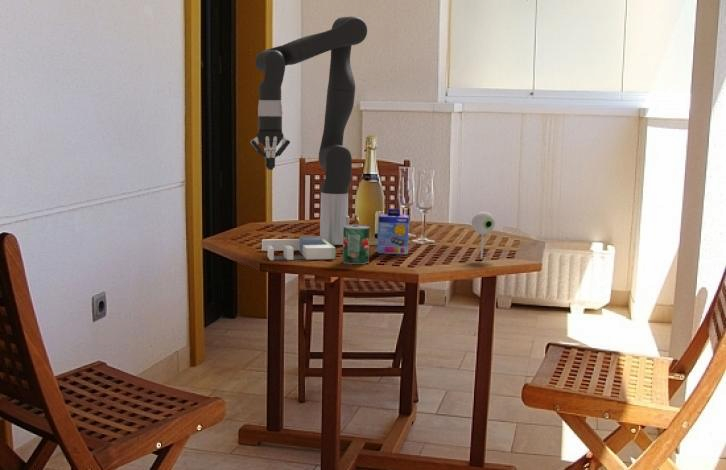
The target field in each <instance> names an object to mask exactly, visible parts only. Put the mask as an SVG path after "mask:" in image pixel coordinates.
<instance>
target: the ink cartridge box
mask: <svg viewBox="0 0 726 470" xmlns="http://www.w3.org/2000/svg"><path fill="white" fill-rule="evenodd" d="M400 210H401V209H400V208H388V211H387V212H388V213H379V214H378V221H377V254H383V253H384V254H385V255H386V254H387V255H388V254H389V255H390V254H391V255H405V256H406V255H408V253H409V231H410V215H409V214H408V215H407V214H401V212H400ZM392 211H393V212H392Z"/></svg>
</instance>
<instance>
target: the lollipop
mask: <svg viewBox="0 0 726 470" xmlns="http://www.w3.org/2000/svg"><path fill="white" fill-rule="evenodd" d="M495 224H496V222H495V217H494V216H493V215H492V214H491V213H489V212H487V211H479V212H478V213H475V214H474V215H473V217H472V220H471V227H472V229H473V230H474V231H475V232H476V233H478V234H479V235H481V239H480V240H481V241H480V260H483V257H484V237H485V235H487V234H490V233H491V232H492V231H493V230H494V228H495V226H496V225H495Z"/></svg>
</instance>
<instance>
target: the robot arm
mask: <svg viewBox="0 0 726 470" xmlns="http://www.w3.org/2000/svg"><path fill="white" fill-rule="evenodd" d="M367 34H368V27H367V24H366V22H365V21H364V20H363V19H362V18H360V17H358V16H340V17H338V18H337V19H335V21H333V23H332V27H331V29H329V30H325V31H322V32H318V33H314V34H310V35H306V36H303V37H300V38H296V39H294V40H292V41H289V42H287V43H285V44H283V45H278V46H275V47H271V48H268V49H264V50H262V51H260V52H259V53H258V54H257V55H256V57H255V60H254V64H255V67H256V69H257V70H258V71H259V72H261V73H263V74H264V77H263V81H261V82H260V83H259V84H258V85H259V86H258V105H257V123H258V124H257V132H256V137H254V138H253V139H251V140H249V141H250V142H249V143H250V144H251V146H252V147H253V148H254V149H255V150H256V152H257V153H258V155H260V156H261V157H264V158H265V160H264V161H265V163H264V164H265V165H264V166H265V168H266V169H267V170H268V171H273V170H274V169H275V166H276V158H277V157H280V156H281V155H282V154H283V153H284V151H285V150H286V149H287V147H288V146H289V145H290V143H291V141H290V140H289V139H287V138H285V136H284V133H283V106H282V85H283V81H284V76H285V70H286V66H290V65H291V66H292V65H296V64H297V65H298V64H300V63H302V62H305V61H307V60H310V59H311V58H314V57H317V56H319V55H321V54H324V53H327V52H330V61H329V62H330V64H329V73H328V74H329V75H328V84H327V90H326V91H327V92H326V102H325V110H324V111H325V113H324V122H323V123H324V125H323V131H322V132H323V133H322V137H321V142H320V147H319V152H318V162H319V164H320V165H319V166H320V167H321V168H322V169H323V170H325V176H324V181H323V182H322V183H321V186H320V218H319V219H320V221H319V222H320V223H319V224H320V226H319V238H321V239H325V240H326V241H327V242H329V243H330V244H331V245H332V246H343V234H344V227H343V226H344V225H350V216H349V215H348V214H349V189H350V186H351V182H352V181H351V180H352V168H353V165H352V164H353V159H352V158H353V157H352V154H351V151H350V150H349V149H348V148H347V147H346V146H344V133H345V129H346V127H347V126H346V125H347V124H348V122H349V118H350V117H351V115H352V112H353V108H354V103H355V96H356V95H355V94H356V83H355V77H354V74H353V71H352V67H351V51H352V46H356V45H359V44H361V43H362V42H363V41H364V40H365V39H366V38H367ZM259 144H260V145H262V146H263V149H264V151H263V149H261V147H260V145H259ZM280 144H281V145H280ZM278 145H280V147H279V148H278V149H277V147H278Z"/></svg>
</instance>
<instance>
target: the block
mask: <svg viewBox="0 0 726 470" xmlns="http://www.w3.org/2000/svg"><path fill="white" fill-rule="evenodd" d="M299 239H300V250H298V251H299V253H300V254H301V256H303V245H322V239H321V238H320V236H299Z"/></svg>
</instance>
